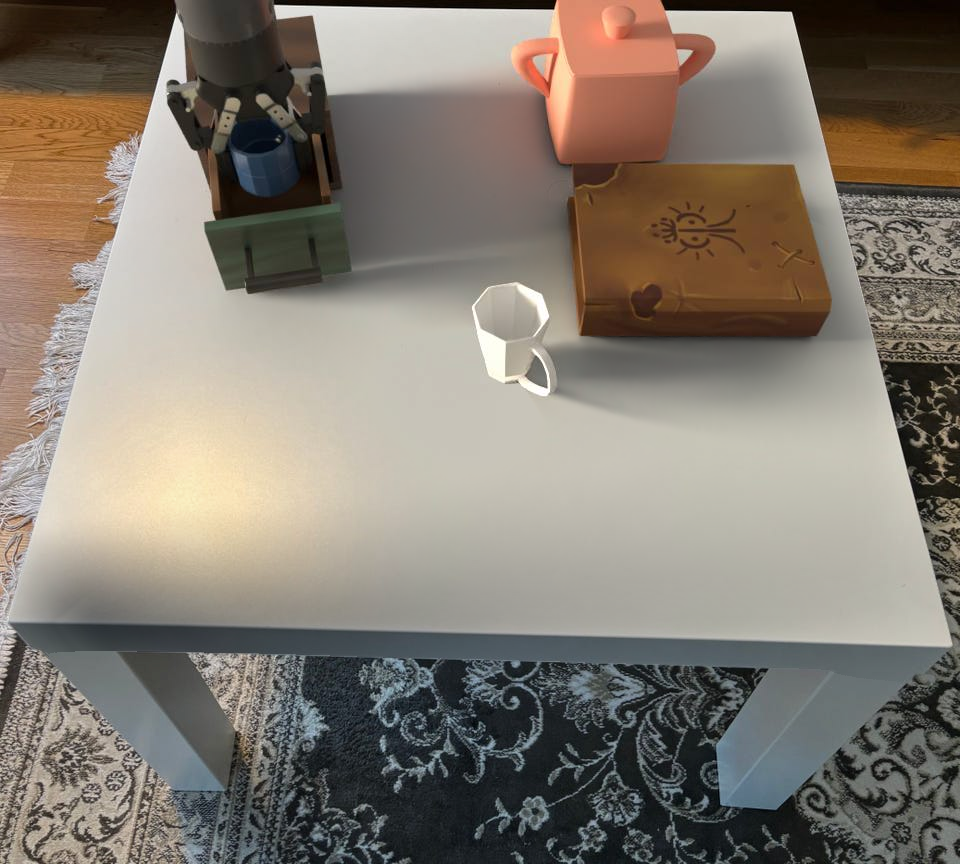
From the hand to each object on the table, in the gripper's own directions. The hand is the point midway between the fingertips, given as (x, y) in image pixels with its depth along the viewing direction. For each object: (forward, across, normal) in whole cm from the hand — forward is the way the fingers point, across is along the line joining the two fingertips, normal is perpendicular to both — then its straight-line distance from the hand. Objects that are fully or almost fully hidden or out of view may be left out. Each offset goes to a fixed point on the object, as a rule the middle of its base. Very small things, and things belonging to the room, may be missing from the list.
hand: (267, 170), depth 86 cm
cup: (+9, -20, +22) cm, 31 cm away
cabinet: (+9, 0, -14) cm, 16 cm away
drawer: (+8, 0, +3) cm, 8 cm away
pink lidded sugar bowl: (+9, -38, -12) cm, 41 cm away
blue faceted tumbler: (+1, 0, 0) cm, 1 cm away
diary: (+9, -40, +13) cm, 43 cm away
